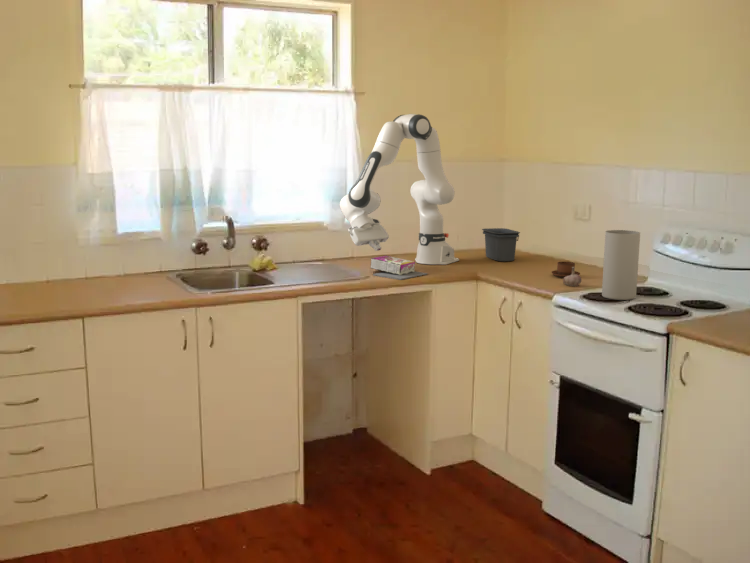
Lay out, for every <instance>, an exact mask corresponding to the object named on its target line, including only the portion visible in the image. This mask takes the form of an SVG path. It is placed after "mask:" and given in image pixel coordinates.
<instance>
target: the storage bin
mask: <svg viewBox="0 0 750 563" xmlns="http://www.w3.org/2000/svg"><path fill="white" fill-rule="evenodd" d="M481 231H482V235H484V242H485V243H484V244H485V257H486V258H488V259H491V260H494V261H498V262H513V261H515V257H516V247H517V241H519V238H520V233H521V232H520V231H518V230H514V229H509V228H505V227H504V228H502V227H501V228H498V227H497V228H493V227H492V228H482V229H481Z"/></svg>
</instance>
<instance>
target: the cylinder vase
mask: <svg viewBox="0 0 750 563" xmlns="http://www.w3.org/2000/svg"><path fill="white" fill-rule="evenodd" d="M604 233H605V234H604V236H605V237H604V253H603V269H602V282H601V283H602V286H601V289H602V290H601V296H602V297H603V298H604V299H609V300H614V301H631V300H634V299H636V297H637V287H638V270H639V258H640V257H639V256H640V245H641V244H640V241H641V232H640V231H636V230H628V229H627V230H626V229H625V230H623V229H611V230H608V229H607V230H606V231H605V232H604Z"/></svg>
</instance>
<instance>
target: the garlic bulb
mask: <svg viewBox="0 0 750 563" xmlns="http://www.w3.org/2000/svg"><path fill="white" fill-rule="evenodd" d="M575 271H576V270H575V267H572V274H571V275H570V276H566V277H564V278H562V283H563V284H564V285H566V286H569V287H571V286H572V287H575V288H576V287H578V286H579V285H580V284H581V282H582V277H581V275H577V274H575Z"/></svg>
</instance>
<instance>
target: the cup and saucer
mask: <svg viewBox="0 0 750 563" xmlns="http://www.w3.org/2000/svg"><path fill="white" fill-rule="evenodd" d="M556 265H557V269H555V270H552V271H551V274H552V275H553V276H555V277H557V278H561V279H564V277H566V276H570V275H571V274H572V267H575V266H576V263H575V262H572V261H558V262H557V264H556ZM575 274H577V275H579V276H581V275H580V274H581V273H580V272H579V271H576V270H575Z"/></svg>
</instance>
